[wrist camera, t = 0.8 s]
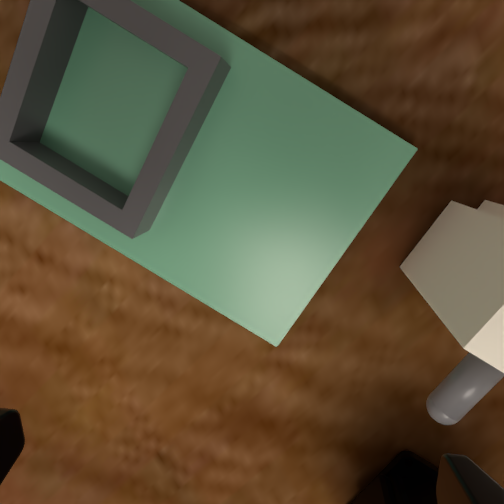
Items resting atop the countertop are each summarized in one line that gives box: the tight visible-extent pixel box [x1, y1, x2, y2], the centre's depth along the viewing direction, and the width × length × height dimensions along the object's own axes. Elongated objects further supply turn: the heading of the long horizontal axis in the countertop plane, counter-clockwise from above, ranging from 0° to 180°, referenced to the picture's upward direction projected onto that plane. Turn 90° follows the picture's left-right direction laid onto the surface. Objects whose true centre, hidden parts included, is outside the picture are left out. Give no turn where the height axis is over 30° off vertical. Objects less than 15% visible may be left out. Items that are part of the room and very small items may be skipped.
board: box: [0, 0, 417, 347], centre depth 17 cm, size 18×12×3 cm, turn 60°
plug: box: [400, 200, 504, 425], centre depth 15 cm, size 4×8×8 cm, turn 150°
